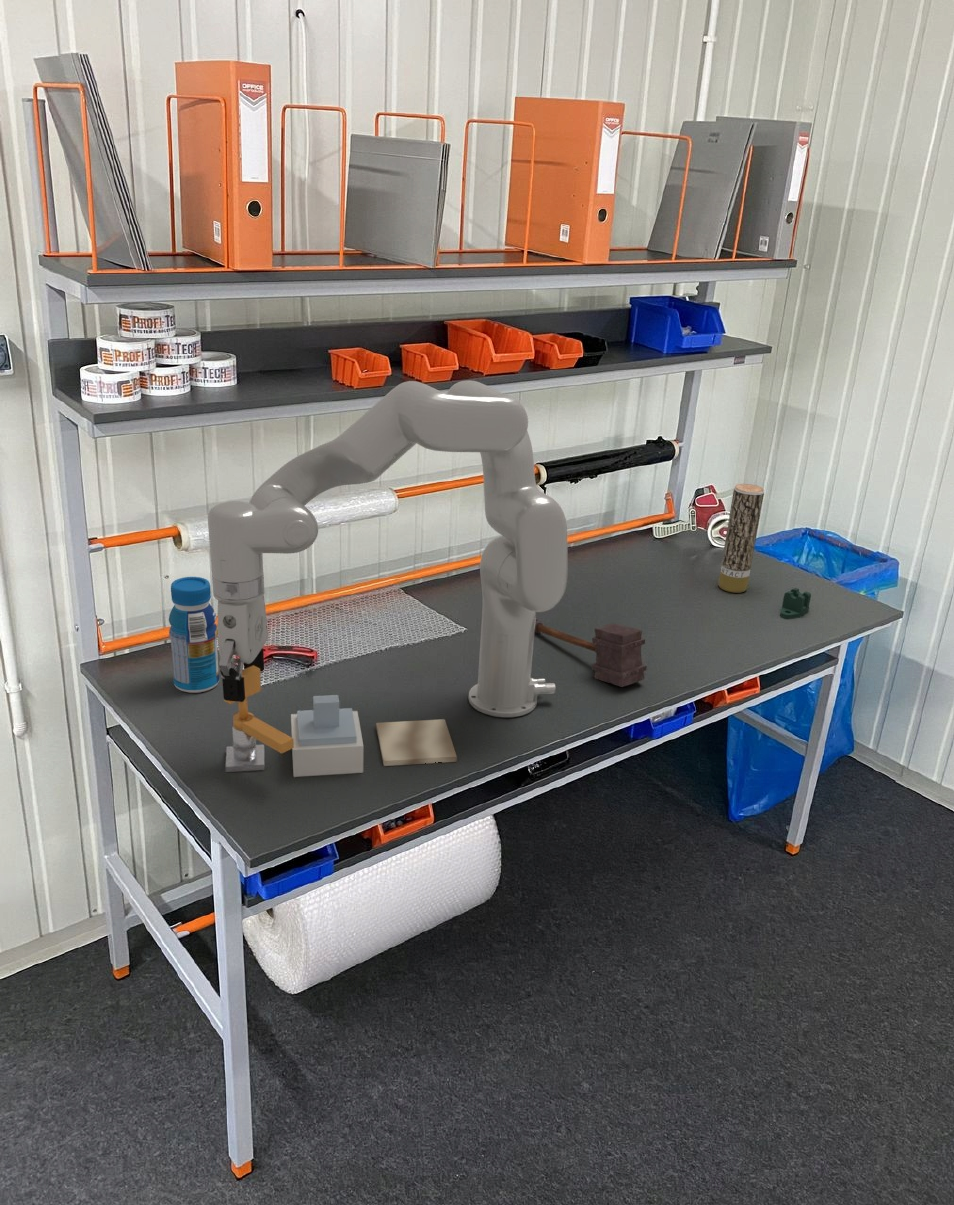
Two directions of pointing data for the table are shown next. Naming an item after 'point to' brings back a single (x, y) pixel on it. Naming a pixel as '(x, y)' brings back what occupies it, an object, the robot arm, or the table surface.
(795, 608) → the mount
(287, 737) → the latch
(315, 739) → the cover
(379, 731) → the pad
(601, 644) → the hammer
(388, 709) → the table surface
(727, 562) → the paper tube
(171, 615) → the beverage bottle
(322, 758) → the housing
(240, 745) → the grey square flange base
